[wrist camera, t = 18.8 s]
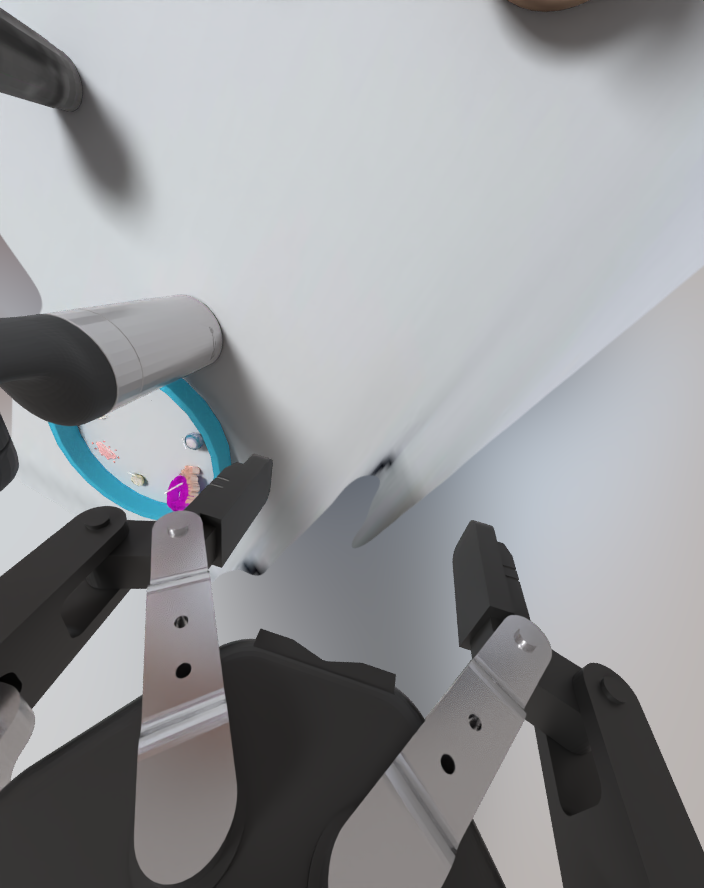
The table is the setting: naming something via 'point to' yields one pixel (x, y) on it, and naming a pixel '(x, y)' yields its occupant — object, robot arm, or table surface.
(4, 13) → the beverage cup
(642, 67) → the table surface
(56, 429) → the blue ring
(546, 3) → the tan rounded flat lump
